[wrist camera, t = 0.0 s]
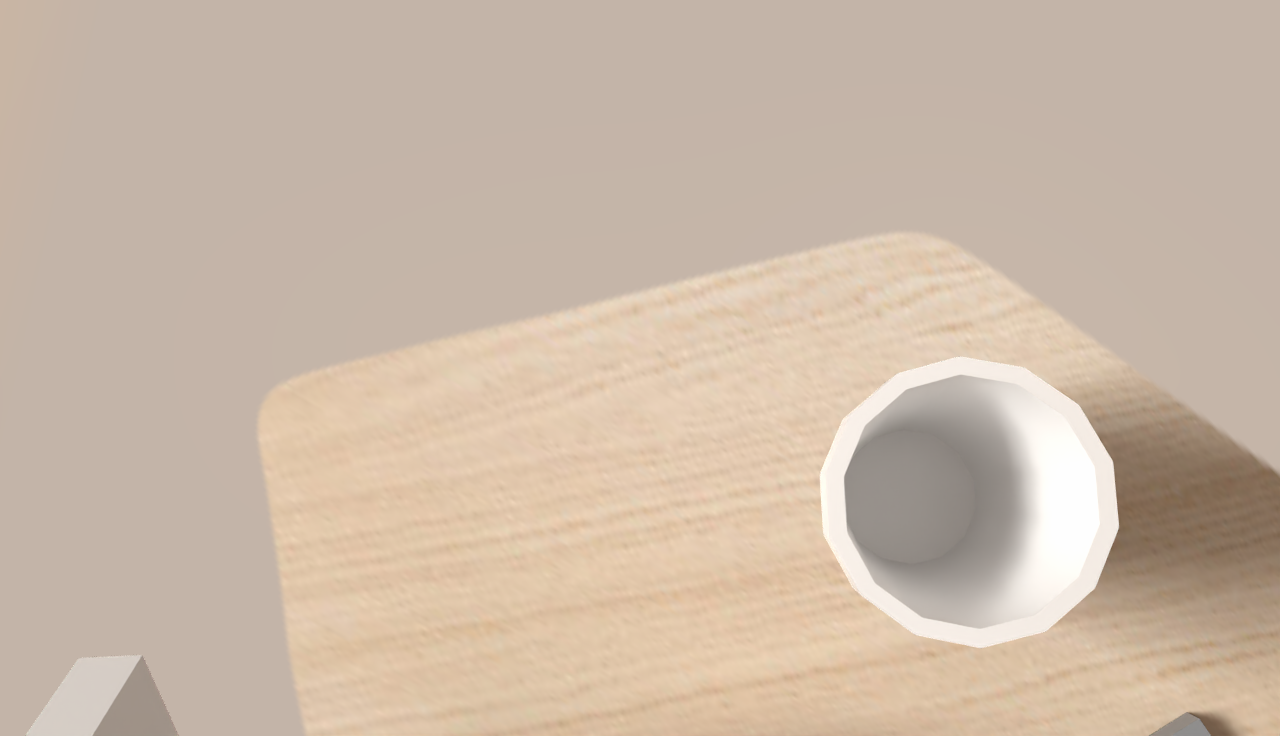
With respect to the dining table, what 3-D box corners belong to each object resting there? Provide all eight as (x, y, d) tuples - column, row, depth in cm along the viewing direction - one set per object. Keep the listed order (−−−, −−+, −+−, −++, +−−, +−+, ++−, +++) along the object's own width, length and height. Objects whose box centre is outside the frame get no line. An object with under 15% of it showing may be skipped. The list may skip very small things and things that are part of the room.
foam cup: (963, 637, 46) (1052, 695, 33) (769, 551, 47) (782, 576, 34) (1043, 440, 47) (1160, 422, 34) (849, 360, 48) (892, 314, 35)
